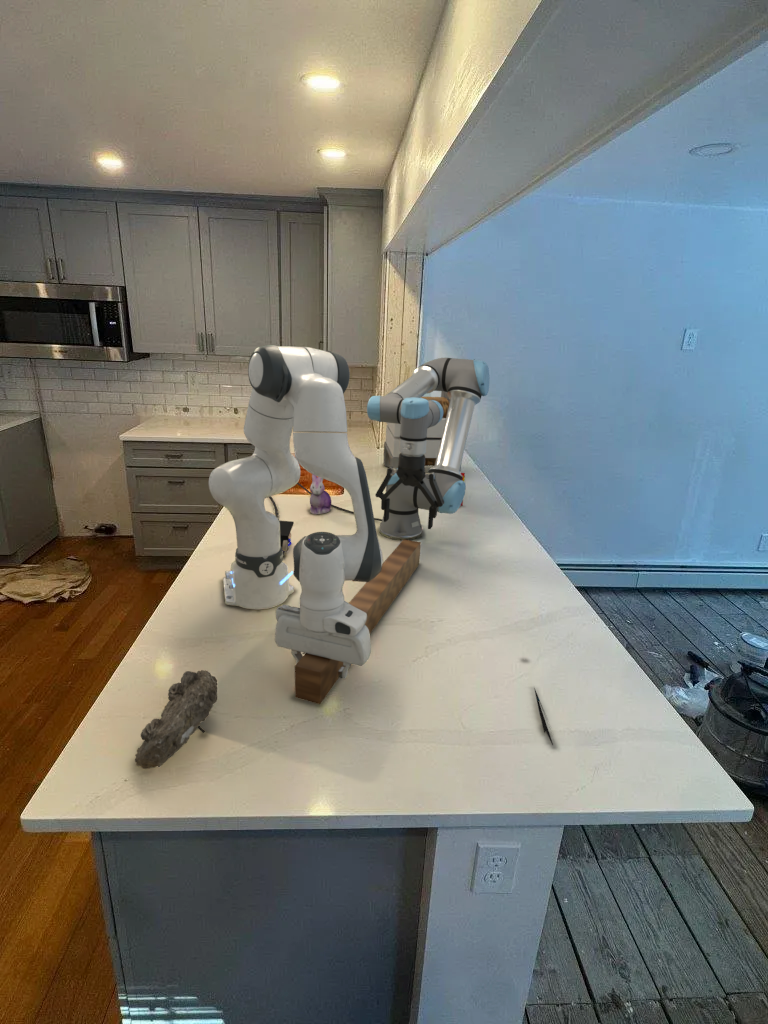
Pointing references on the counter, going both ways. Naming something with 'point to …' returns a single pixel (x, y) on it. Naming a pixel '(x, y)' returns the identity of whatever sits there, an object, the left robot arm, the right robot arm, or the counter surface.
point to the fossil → (178, 718)
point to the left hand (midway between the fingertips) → (321, 671)
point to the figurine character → (285, 534)
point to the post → (373, 600)
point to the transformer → (431, 442)
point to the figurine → (319, 497)
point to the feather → (542, 717)
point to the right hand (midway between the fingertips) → (407, 524)
